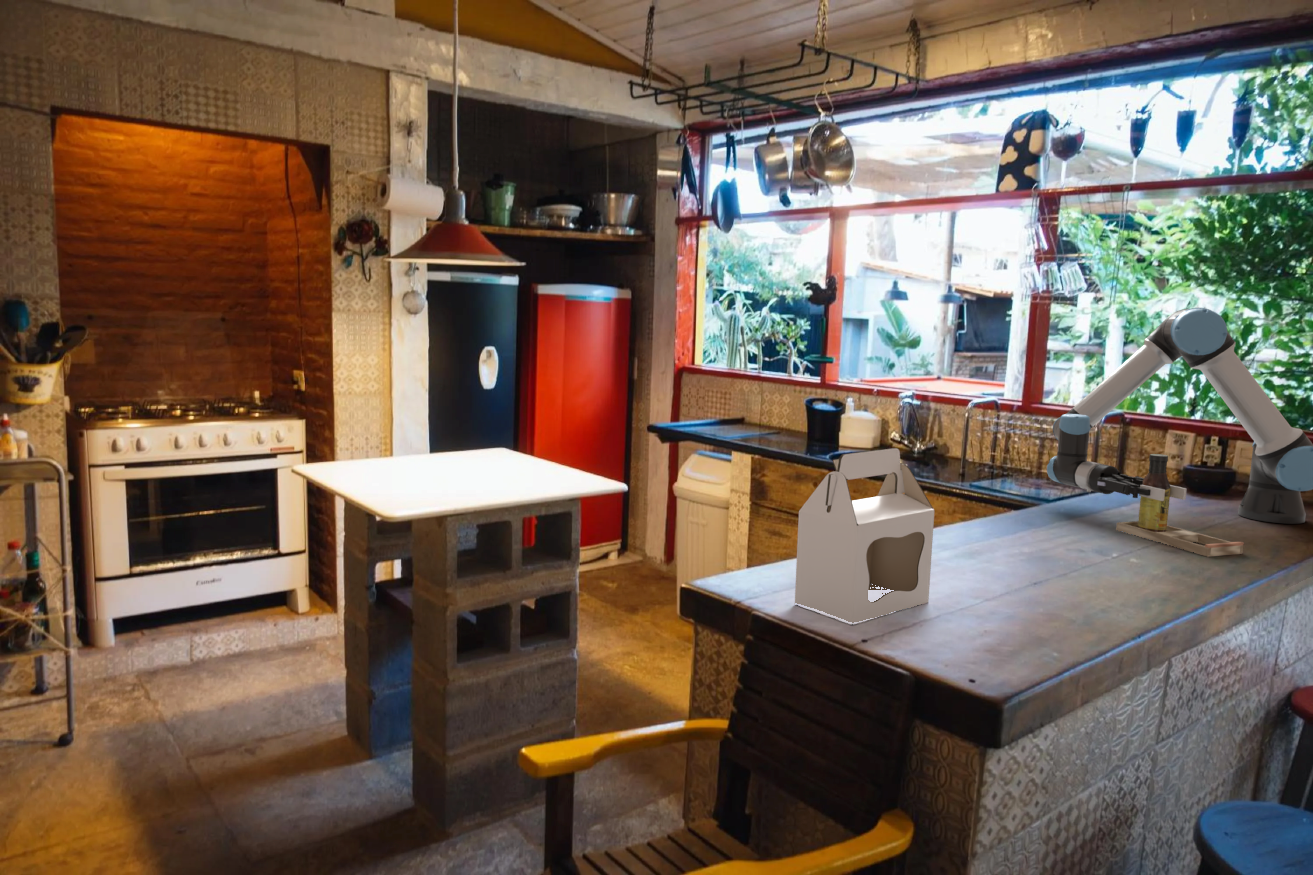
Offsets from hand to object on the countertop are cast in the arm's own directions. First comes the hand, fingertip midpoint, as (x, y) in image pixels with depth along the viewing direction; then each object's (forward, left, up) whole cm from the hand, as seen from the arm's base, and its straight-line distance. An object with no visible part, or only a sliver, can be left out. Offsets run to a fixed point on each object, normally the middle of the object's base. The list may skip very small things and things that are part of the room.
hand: (1174, 494), depth 216 cm
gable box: (+100, +24, -11) cm, 104 cm away
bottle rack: (0, +2, -11) cm, 11 cm away
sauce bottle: (0, -5, -11) cm, 12 cm away
